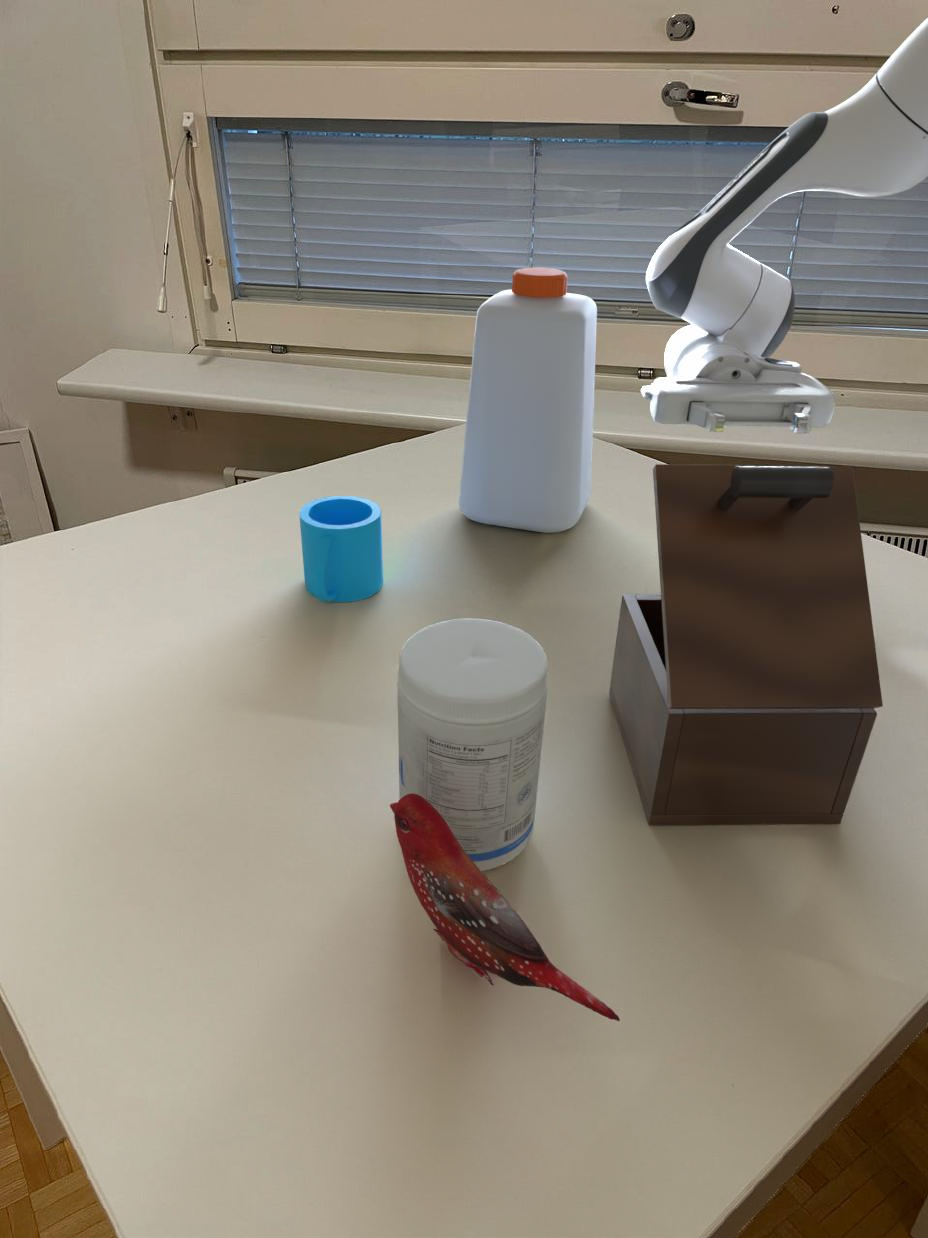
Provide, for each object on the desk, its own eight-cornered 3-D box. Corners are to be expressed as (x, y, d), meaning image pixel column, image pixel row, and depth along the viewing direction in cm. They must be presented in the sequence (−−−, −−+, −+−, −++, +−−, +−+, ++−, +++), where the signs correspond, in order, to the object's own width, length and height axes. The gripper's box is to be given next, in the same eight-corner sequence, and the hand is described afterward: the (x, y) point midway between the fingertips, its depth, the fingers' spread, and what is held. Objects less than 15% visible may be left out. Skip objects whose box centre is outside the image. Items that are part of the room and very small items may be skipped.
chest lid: (652, 468, 61) (675, 431, 56) (847, 470, 62) (889, 433, 56) (668, 709, 57) (695, 695, 51) (877, 708, 58) (925, 694, 52)
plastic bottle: (572, 541, 102) (597, 288, 87) (449, 522, 105) (453, 277, 91) (594, 493, 114) (619, 265, 100) (484, 478, 118) (492, 256, 103)
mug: (320, 561, 96) (315, 492, 92) (391, 569, 95) (390, 499, 90) (279, 615, 86) (271, 540, 82) (359, 626, 84) (355, 550, 80)
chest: (608, 693, 76) (622, 593, 71) (766, 693, 76) (791, 594, 71) (648, 826, 62) (669, 714, 57) (840, 824, 63) (878, 713, 58)
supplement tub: (404, 779, 66) (401, 612, 58) (530, 782, 66) (544, 615, 58) (394, 879, 57) (390, 698, 50) (538, 882, 57) (555, 703, 50)
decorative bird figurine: (409, 883, 57) (407, 765, 52) (623, 1075, 46) (648, 951, 41) (374, 906, 55) (369, 787, 50) (588, 1112, 45) (610, 987, 39)
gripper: (641, 359, 102) (669, 395, 91) (811, 362, 103) (861, 398, 91) (634, 411, 106) (660, 452, 94) (799, 414, 107) (846, 455, 95)
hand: (761, 425), depth 93 cm, fingers open, 8 cm apart
